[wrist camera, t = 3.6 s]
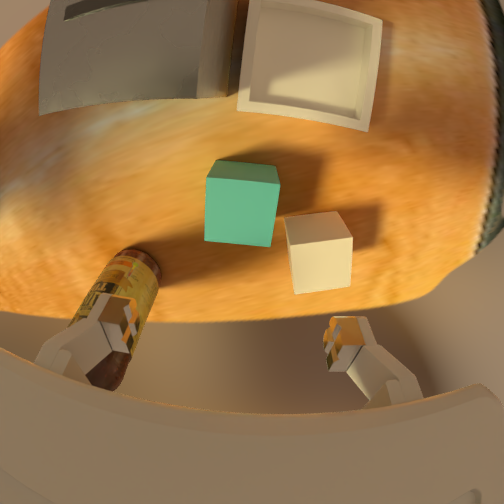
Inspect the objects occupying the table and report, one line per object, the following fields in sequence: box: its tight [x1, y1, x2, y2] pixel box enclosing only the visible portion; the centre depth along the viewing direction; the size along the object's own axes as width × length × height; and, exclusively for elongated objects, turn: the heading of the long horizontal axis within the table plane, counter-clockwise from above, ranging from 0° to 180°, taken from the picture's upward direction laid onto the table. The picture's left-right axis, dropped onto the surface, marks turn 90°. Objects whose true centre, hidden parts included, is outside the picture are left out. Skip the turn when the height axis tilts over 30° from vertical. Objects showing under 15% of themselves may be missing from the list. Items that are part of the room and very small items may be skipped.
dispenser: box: [39, 0, 238, 116], centre depth 11 cm, size 8×10×12 cm
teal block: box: [204, 160, 281, 247], centre depth 21 cm, size 5×5×5 cm
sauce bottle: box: [67, 249, 161, 392], centre depth 20 cm, size 7×6×20 cm
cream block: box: [284, 211, 353, 294], centre depth 24 cm, size 5×5×5 cm
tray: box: [237, 0, 383, 132], centre depth 16 cm, size 10×10×2 cm
